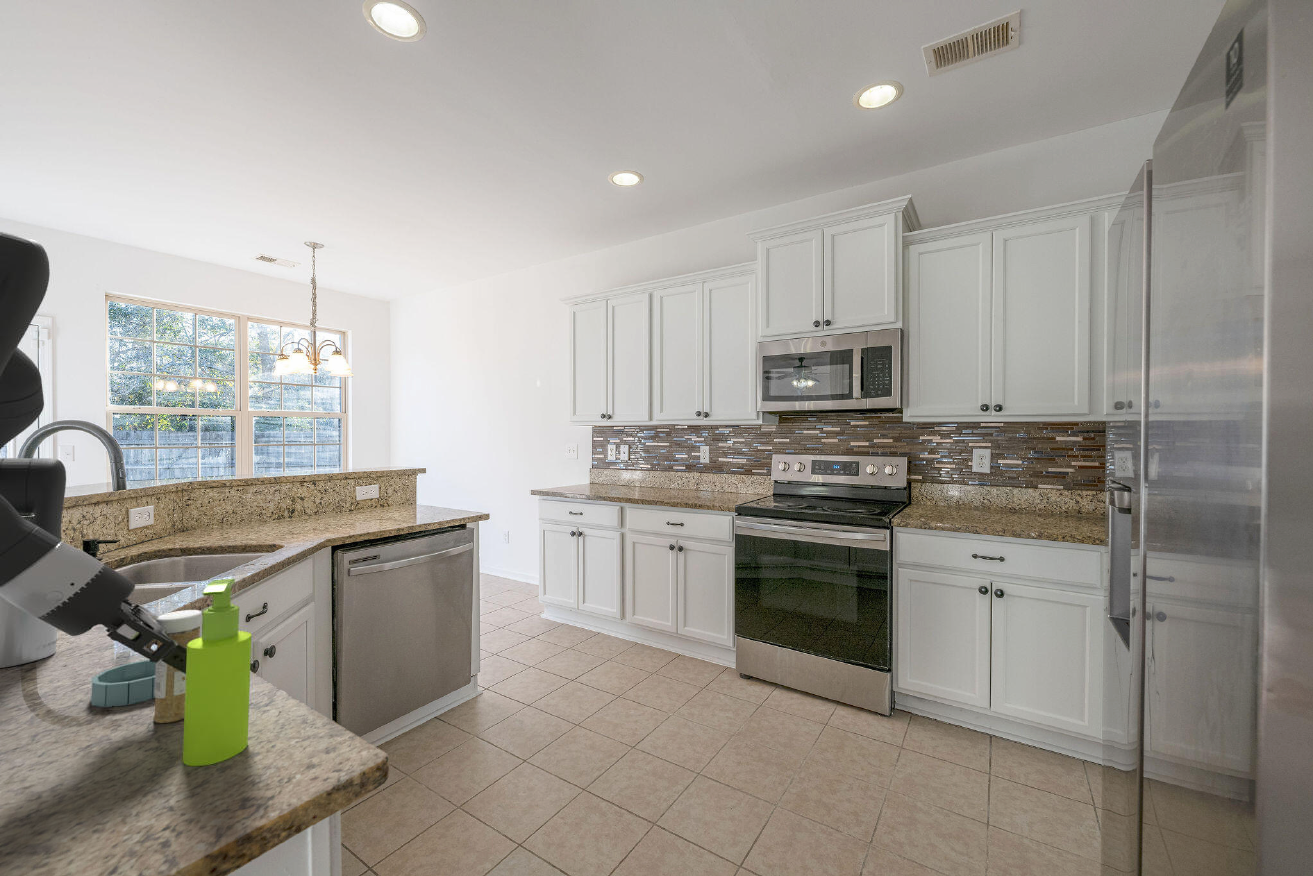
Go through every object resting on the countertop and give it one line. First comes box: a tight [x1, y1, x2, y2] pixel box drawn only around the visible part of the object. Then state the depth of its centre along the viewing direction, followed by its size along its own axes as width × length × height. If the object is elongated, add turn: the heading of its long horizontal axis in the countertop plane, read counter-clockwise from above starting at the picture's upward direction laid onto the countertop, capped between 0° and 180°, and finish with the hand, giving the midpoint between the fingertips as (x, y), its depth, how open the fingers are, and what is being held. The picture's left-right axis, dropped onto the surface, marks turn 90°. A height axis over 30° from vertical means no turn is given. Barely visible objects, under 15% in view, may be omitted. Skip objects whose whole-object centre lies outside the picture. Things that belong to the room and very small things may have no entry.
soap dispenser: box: [182, 578, 252, 767], centre depth 63 cm, size 6×7×20 cm
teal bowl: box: [90, 659, 156, 708], centre depth 78 cm, size 9×9×3 cm
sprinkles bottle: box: [152, 609, 203, 724], centre depth 71 cm, size 5×5×13 cm
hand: (191, 658), depth 72 cm, fingers open, 8 cm apart
